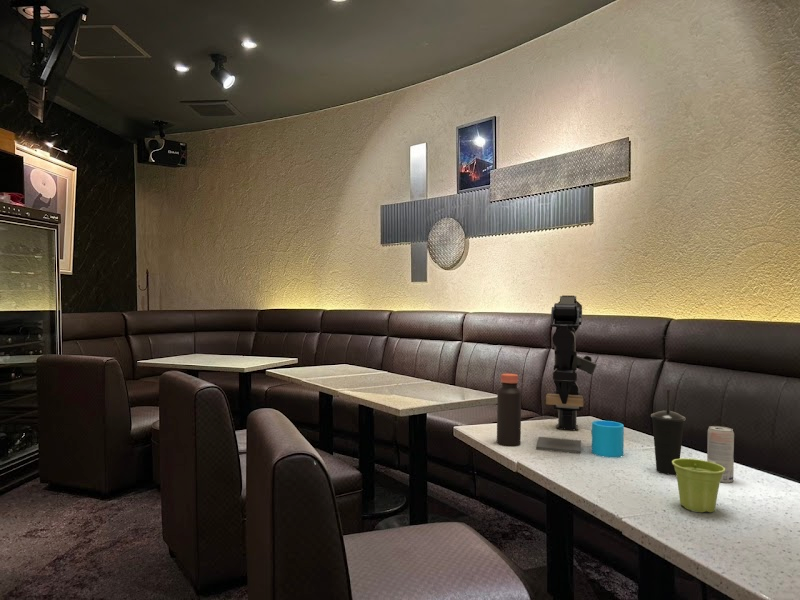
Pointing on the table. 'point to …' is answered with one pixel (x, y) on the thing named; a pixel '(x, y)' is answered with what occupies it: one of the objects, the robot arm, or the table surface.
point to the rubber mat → (559, 445)
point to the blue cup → (607, 438)
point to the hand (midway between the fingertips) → (564, 401)
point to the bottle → (509, 411)
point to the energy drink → (721, 450)
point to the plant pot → (698, 483)
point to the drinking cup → (667, 438)
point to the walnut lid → (571, 401)
